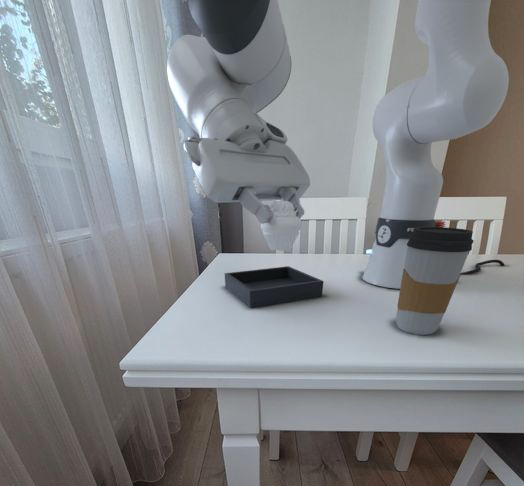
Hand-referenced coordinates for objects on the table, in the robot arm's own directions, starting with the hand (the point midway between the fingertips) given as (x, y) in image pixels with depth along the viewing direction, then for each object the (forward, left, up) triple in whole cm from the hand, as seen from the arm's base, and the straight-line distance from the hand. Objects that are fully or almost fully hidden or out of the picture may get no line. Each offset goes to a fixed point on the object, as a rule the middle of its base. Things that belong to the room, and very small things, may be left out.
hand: (284, 218), depth 43 cm
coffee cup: (-19, +12, -16) cm, 28 cm away
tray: (-6, -15, -16) cm, 23 cm away
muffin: (0, -1, -5) cm, 5 cm away
